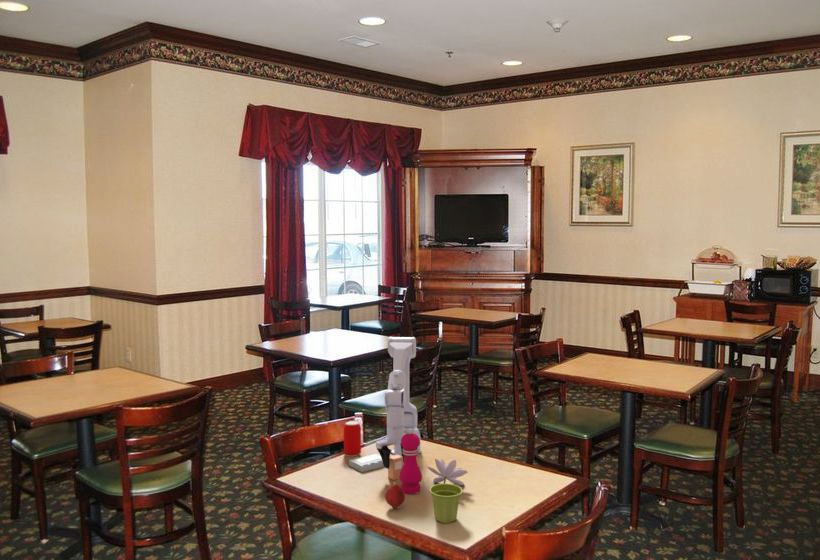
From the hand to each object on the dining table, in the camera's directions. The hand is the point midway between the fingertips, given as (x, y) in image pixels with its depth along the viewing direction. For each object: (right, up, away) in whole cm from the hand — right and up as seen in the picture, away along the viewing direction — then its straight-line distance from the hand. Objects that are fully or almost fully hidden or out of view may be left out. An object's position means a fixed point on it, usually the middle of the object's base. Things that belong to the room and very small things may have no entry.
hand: (395, 465), depth 231 cm
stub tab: (0, -4, 0) cm, 4 cm away
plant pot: (+15, -7, -32) cm, 36 cm away
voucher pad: (-9, -3, +12) cm, 15 cm away
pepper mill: (+5, -5, -11) cm, 13 cm away
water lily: (+17, -5, -8) cm, 20 cm away
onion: (0, -6, -25) cm, 25 cm away
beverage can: (-16, -3, +23) cm, 28 cm away
